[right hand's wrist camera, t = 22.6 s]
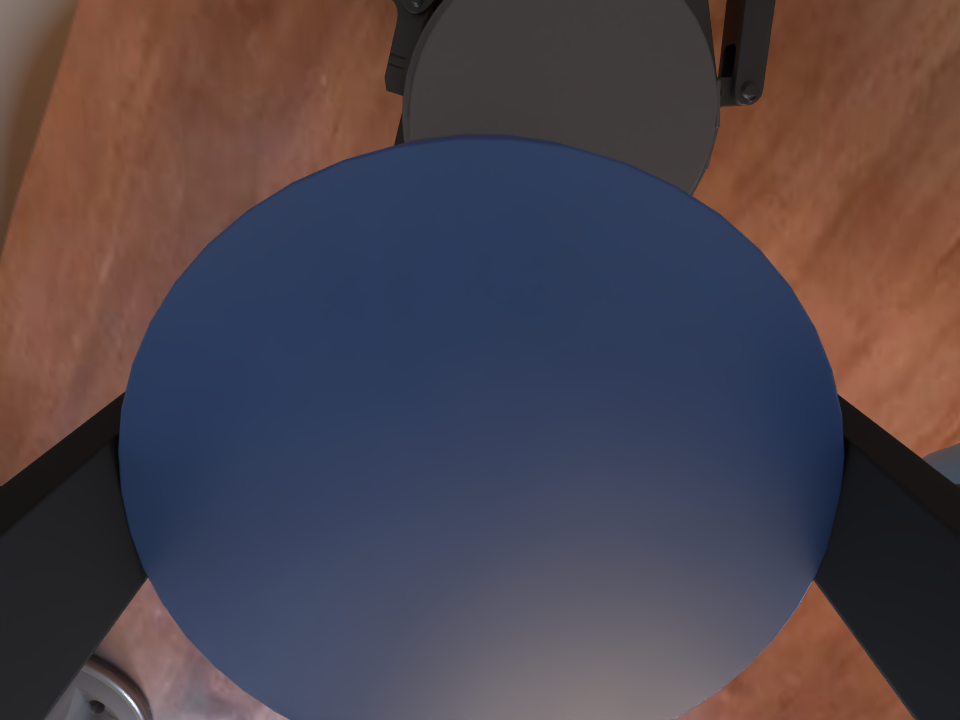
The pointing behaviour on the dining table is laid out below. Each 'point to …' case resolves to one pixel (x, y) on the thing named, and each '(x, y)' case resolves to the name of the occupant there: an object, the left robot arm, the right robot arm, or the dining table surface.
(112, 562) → the right robot arm
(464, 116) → the jar
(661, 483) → the lid
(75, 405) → the dining table surface
